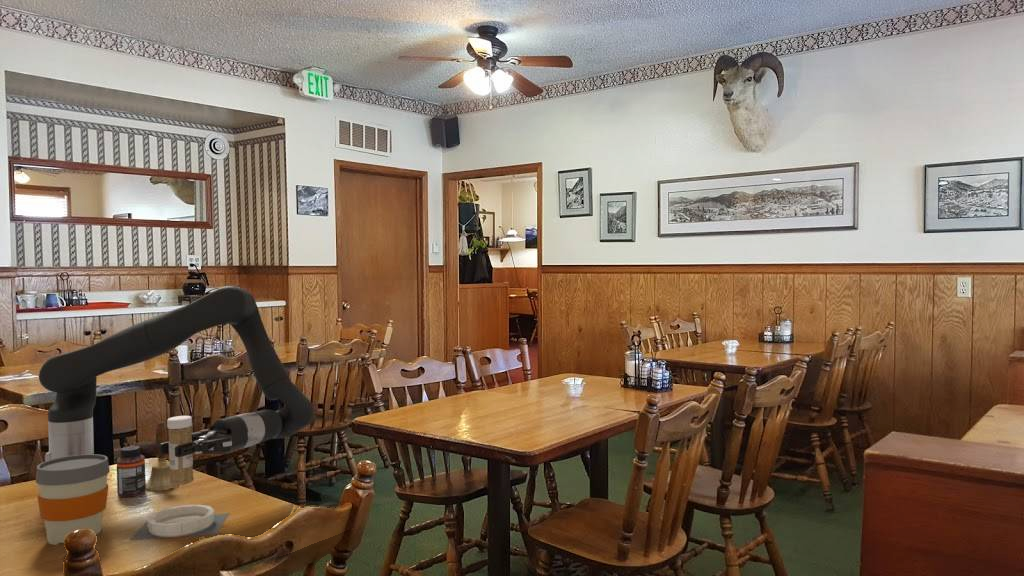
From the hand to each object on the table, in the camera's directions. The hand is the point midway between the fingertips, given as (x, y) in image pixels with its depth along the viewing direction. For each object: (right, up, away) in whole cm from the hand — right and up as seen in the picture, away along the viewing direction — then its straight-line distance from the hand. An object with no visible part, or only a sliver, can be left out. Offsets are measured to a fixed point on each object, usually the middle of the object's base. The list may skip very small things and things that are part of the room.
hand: (168, 450), depth 140 cm
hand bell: (-17, -16, +32) cm, 40 cm away
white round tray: (+1, -16, +3) cm, 16 cm away
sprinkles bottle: (+1, -7, +3) cm, 8 cm away
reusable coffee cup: (-18, -17, -1) cm, 25 cm away
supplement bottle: (-21, -17, +25) cm, 37 cm away
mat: (+1, -17, +3) cm, 17 cm away
